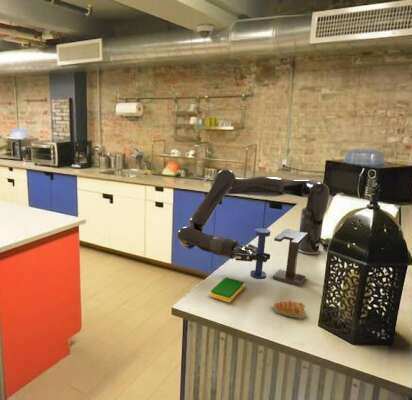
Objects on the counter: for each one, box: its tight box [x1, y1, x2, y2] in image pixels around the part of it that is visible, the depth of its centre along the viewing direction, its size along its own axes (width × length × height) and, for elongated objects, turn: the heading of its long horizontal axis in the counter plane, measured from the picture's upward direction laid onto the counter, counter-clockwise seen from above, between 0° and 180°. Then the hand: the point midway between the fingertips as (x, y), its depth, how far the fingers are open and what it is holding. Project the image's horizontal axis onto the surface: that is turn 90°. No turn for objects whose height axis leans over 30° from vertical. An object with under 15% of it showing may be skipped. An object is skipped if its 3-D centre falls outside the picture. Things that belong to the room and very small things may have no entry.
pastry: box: [272, 300, 306, 320], centre depth 121 cm, size 9×7×4 cm
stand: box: [272, 228, 308, 287], centre depth 140 cm, size 15×10×19 cm, turn 141°
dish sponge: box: [210, 277, 245, 303], centre depth 134 cm, size 7×14×2 cm, turn 143°
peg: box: [249, 227, 271, 280], centre depth 136 cm, size 6×6×18 cm
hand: (268, 258), depth 135 cm, fingers closed on peg, 2 cm apart
